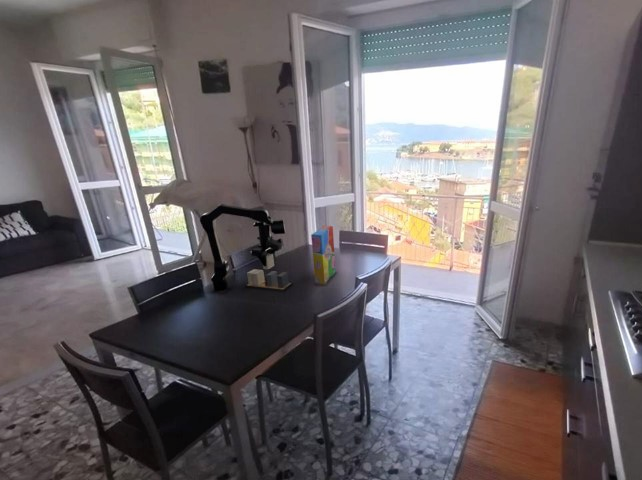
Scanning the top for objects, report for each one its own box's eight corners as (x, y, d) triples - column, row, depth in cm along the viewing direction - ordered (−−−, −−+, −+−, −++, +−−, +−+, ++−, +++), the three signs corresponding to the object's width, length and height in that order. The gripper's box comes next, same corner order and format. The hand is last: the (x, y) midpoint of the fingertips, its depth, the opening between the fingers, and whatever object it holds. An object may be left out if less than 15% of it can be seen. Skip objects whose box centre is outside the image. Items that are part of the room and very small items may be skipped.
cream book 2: (258, 285, 187) (256, 273, 185) (254, 284, 188) (252, 273, 185) (264, 281, 192) (263, 270, 190) (260, 280, 193) (258, 269, 190)
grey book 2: (283, 288, 183) (281, 276, 180) (278, 287, 184) (276, 275, 181) (288, 283, 188) (287, 272, 186) (284, 283, 189) (282, 272, 186)
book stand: (283, 291, 182) (281, 280, 180) (246, 287, 188) (244, 276, 186) (291, 284, 190) (290, 274, 187) (256, 281, 196) (254, 270, 193)
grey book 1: (272, 286, 185) (270, 275, 182) (267, 286, 186) (265, 274, 183) (278, 282, 190) (276, 271, 187) (273, 282, 191) (272, 270, 188)
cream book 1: (253, 284, 188) (251, 273, 185) (248, 284, 189) (246, 272, 186) (259, 280, 193) (258, 269, 191) (255, 280, 194) (253, 269, 191)
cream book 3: (268, 269, 181) (266, 257, 178) (263, 268, 182) (261, 256, 179) (274, 265, 186) (272, 253, 184) (269, 265, 187) (268, 253, 184)
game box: (324, 285, 188) (320, 235, 177) (315, 285, 189) (310, 234, 178) (335, 272, 206) (332, 225, 195) (326, 271, 207) (323, 225, 196)
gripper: (268, 240, 167) (272, 271, 173) (288, 231, 183) (291, 260, 189) (248, 238, 170) (252, 269, 176) (269, 230, 186) (272, 258, 192)
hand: (268, 264), depth 183 cm, fingers closed on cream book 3, 6 cm apart
